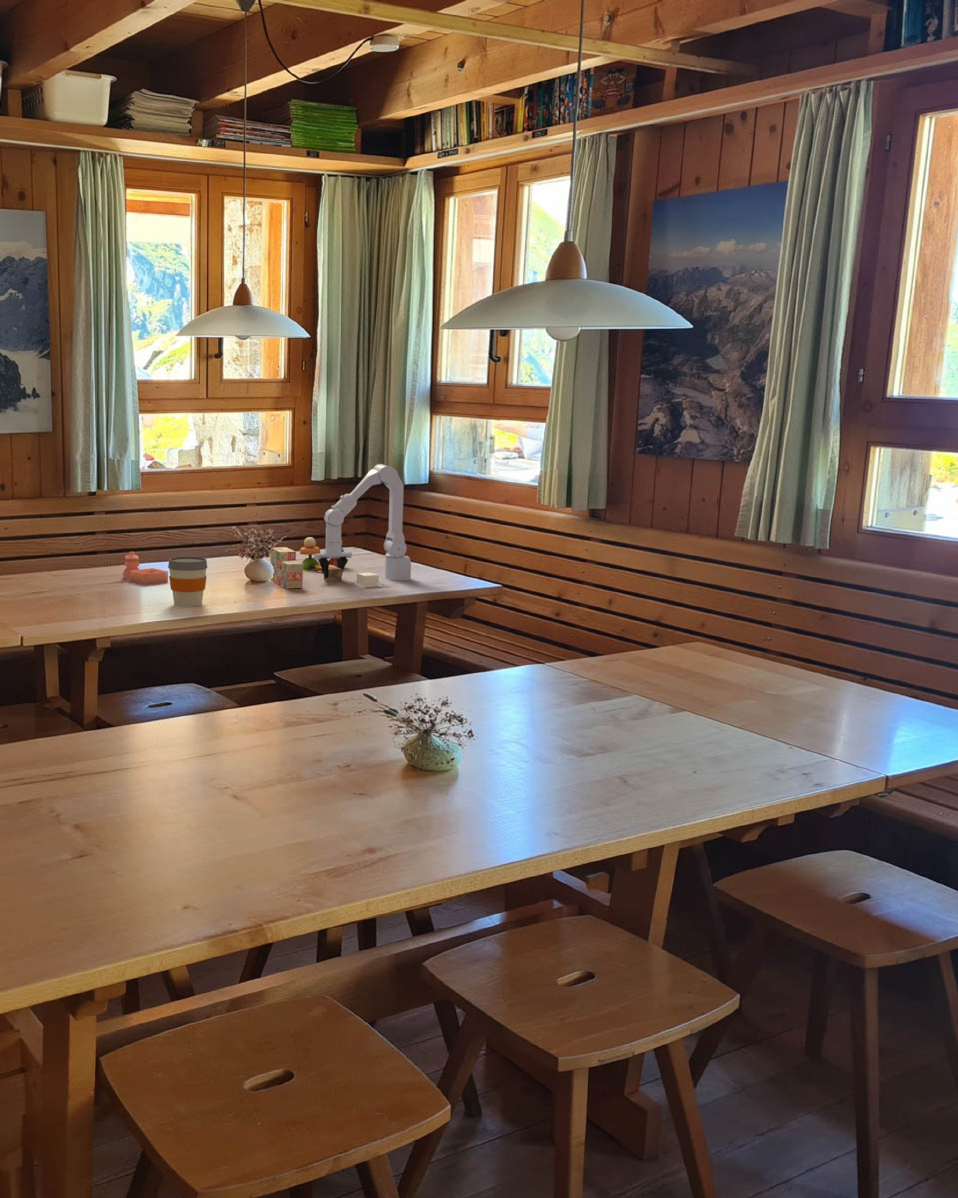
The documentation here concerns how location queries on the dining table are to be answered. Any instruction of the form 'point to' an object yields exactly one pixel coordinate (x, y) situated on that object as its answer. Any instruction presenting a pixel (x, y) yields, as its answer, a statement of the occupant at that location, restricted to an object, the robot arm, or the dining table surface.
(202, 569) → the reusable coffee cup
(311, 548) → the wooden stacking toy
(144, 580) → the pottery
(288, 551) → the stack of blocks
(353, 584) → the clear glass plate
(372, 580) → the base block
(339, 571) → the walnut block
